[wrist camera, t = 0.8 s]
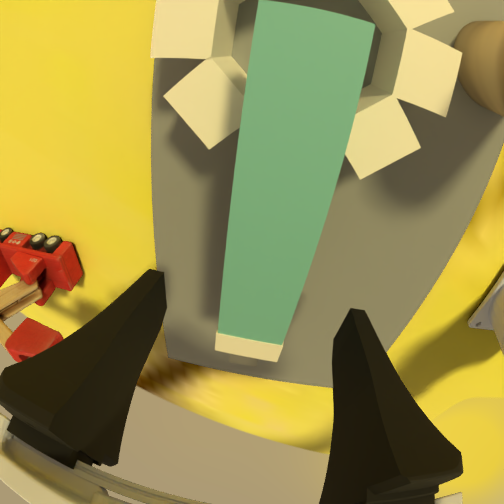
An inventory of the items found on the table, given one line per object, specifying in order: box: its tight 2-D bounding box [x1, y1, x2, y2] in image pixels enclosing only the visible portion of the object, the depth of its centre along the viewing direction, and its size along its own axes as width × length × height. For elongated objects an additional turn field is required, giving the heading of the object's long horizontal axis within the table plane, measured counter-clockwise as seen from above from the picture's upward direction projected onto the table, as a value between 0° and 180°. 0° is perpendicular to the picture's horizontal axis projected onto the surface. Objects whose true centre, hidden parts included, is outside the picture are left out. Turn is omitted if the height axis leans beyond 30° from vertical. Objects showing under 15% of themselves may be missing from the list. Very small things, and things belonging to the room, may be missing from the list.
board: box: [150, 0, 504, 388], centre depth 13 cm, size 16×30×4 cm, turn 172°
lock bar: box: [215, 0, 375, 362], centre depth 9 cm, size 3×12×2 cm, turn 172°
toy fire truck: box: [0, 228, 83, 363], centre depth 16 cm, size 3×14×10 cm, turn 86°
